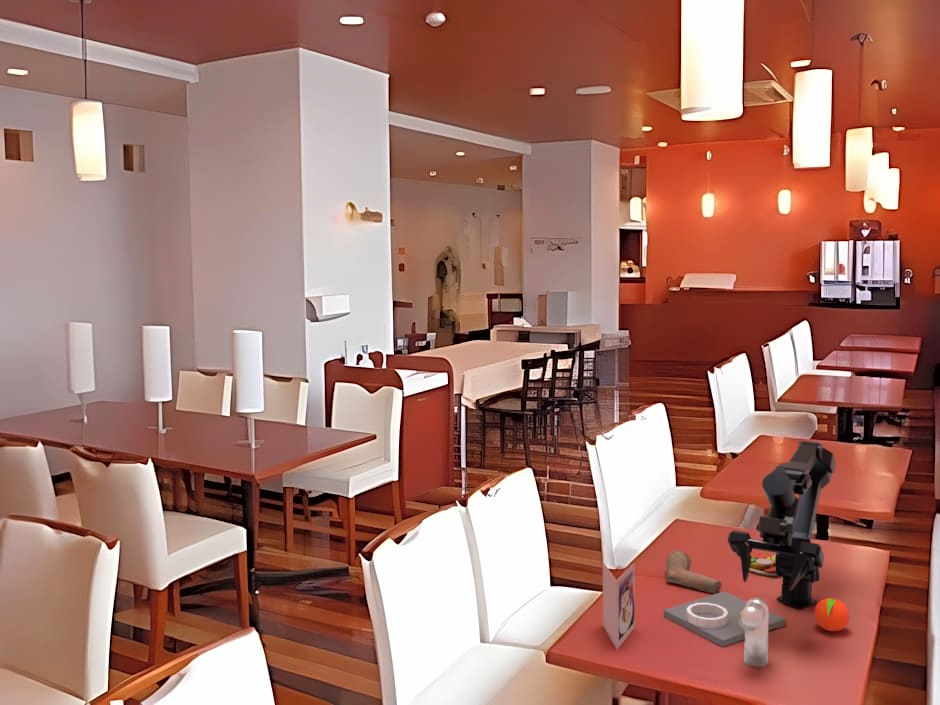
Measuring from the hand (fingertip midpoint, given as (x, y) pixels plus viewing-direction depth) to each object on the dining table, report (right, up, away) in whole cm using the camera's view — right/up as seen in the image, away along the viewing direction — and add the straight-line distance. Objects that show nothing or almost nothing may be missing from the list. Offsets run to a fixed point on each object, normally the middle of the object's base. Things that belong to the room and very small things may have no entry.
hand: (766, 585), depth 179 cm
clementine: (+17, -12, +8) cm, 22 cm away
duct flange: (-5, -12, +14) cm, 19 cm away
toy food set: (+16, -8, +44) cm, 48 cm away
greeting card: (-30, -13, +9) cm, 34 cm away
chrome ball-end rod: (-5, -14, -6) cm, 16 cm away
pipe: (-6, -10, +36) cm, 38 cm away
